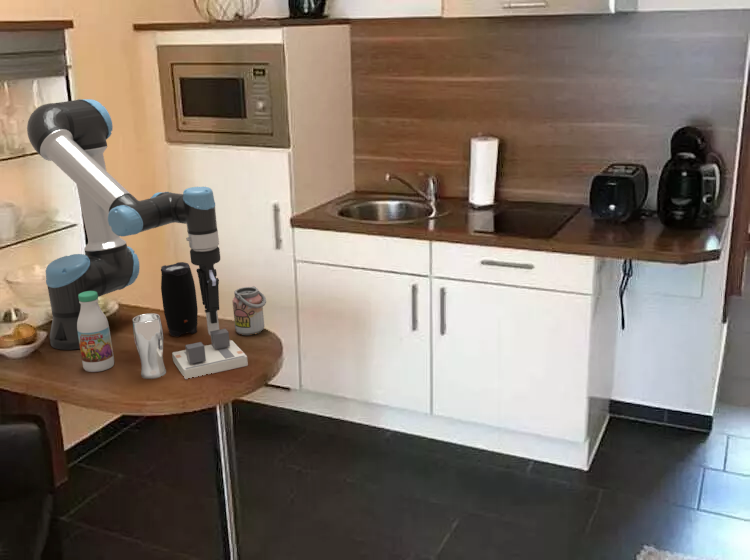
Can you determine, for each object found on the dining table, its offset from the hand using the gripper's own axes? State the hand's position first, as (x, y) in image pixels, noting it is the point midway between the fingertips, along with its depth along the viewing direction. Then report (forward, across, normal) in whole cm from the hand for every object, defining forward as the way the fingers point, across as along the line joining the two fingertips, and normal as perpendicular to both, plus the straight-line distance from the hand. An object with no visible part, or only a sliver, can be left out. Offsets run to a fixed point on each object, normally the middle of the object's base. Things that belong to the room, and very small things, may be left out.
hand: (213, 333), depth 221 cm
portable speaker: (+5, -17, -4) cm, 18 cm away
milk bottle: (+5, -4, -30) cm, 30 cm away
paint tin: (+5, -7, +12) cm, 15 cm away
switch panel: (+5, +9, -4) cm, 11 cm away
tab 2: (+2, +6, 0) cm, 6 cm away
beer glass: (+5, +8, -18) cm, 20 cm away
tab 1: (+2, +12, -8) cm, 15 cm away
